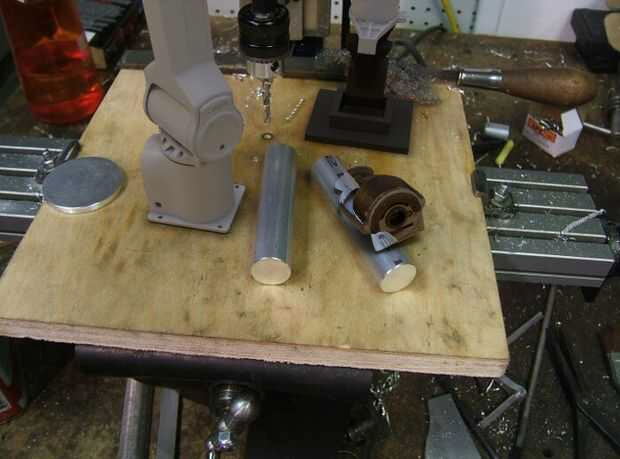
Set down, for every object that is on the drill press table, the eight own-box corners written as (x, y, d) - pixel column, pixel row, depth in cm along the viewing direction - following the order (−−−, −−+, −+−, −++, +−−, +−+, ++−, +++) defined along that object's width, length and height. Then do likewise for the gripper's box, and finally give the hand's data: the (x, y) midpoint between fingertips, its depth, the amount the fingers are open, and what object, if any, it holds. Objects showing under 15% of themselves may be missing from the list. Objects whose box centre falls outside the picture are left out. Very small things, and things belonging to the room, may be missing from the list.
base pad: (304, 140, 76) (305, 121, 74) (319, 94, 84) (320, 76, 82) (407, 154, 74) (411, 136, 72) (412, 106, 83) (415, 88, 81)
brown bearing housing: (332, 222, 57) (431, 208, 56) (326, 138, 65) (412, 124, 64) (341, 262, 62) (432, 251, 61) (335, 180, 71) (414, 168, 69)
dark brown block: (345, 94, 74) (348, 67, 72) (349, 79, 77) (352, 52, 74) (382, 99, 74) (386, 72, 71) (385, 84, 77) (389, 57, 74)
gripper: (410, 3, 59) (391, 112, 69) (416, -45, 69) (399, 56, 79) (344, -5, 60) (335, 105, 70) (360, -51, 70) (350, 50, 80)
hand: (366, 79), depth 74 cm, fingers closed on dark brown block, 4 cm apart
